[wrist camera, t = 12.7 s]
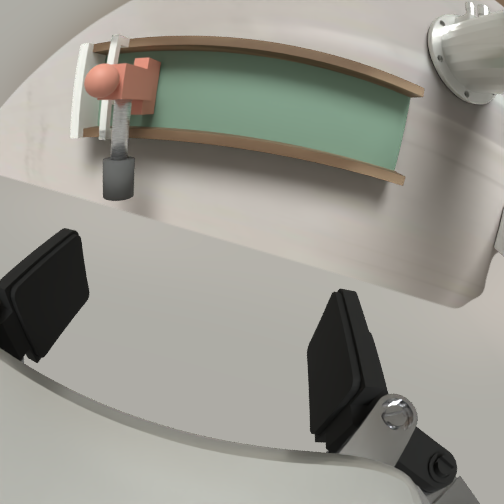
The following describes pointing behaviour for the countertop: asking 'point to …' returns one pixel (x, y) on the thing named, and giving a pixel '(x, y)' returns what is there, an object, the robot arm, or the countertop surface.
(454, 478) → the robot arm
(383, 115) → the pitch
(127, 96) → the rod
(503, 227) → the milk carton
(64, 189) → the countertop surface
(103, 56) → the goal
